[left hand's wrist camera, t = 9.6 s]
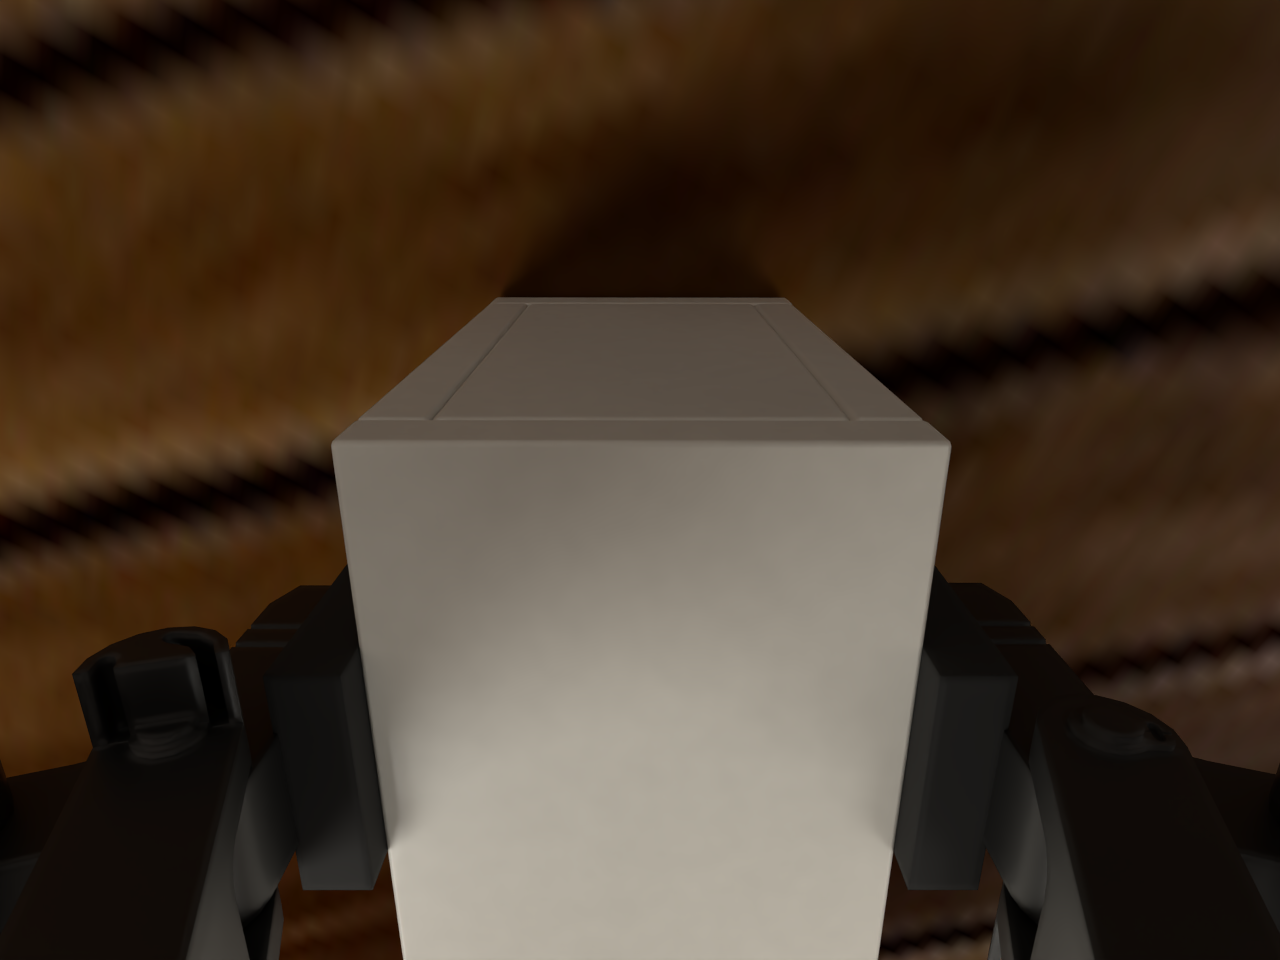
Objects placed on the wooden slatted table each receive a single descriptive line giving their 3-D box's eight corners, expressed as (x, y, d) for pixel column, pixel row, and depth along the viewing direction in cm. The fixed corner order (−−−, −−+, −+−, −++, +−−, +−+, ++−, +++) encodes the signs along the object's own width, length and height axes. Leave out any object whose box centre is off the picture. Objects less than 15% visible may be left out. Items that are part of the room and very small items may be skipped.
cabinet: (738, 1041, 24) (795, 1542, 15) (541, 1041, 24) (484, 1541, 15) (786, 297, 16) (954, 442, 8) (495, 297, 16) (327, 441, 8)
